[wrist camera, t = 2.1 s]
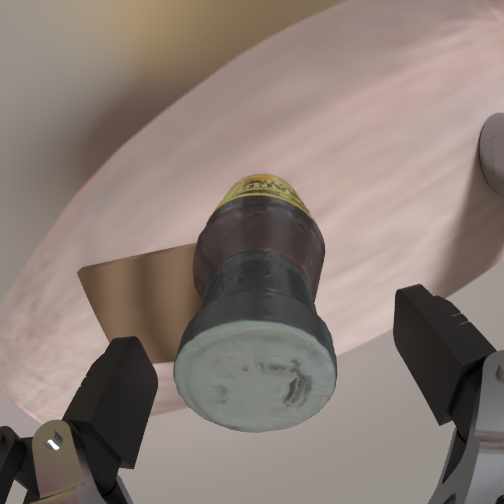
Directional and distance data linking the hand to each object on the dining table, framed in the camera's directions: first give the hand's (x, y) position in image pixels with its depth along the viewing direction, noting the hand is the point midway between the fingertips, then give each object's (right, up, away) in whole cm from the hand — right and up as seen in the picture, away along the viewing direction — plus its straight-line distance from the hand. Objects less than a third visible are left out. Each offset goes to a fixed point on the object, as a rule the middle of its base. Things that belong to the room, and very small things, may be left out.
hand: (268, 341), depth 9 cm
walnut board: (-10, -3, +20) cm, 23 cm away
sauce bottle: (0, +7, +17) cm, 18 cm away
